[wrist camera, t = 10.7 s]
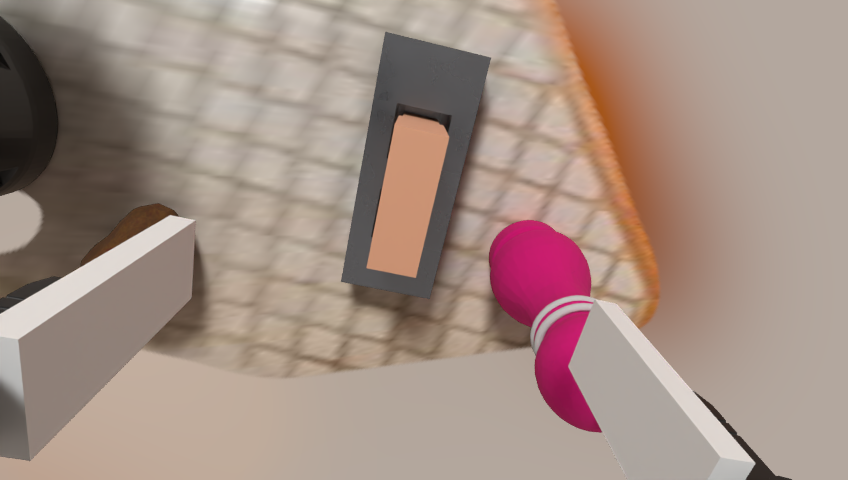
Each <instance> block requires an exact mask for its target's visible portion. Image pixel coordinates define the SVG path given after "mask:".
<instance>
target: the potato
mask: <svg viewBox="0 0 848 480" xmlns="http://www.w3.org/2000/svg"><path fill="white" fill-rule="evenodd" d="M170 215H172V216H177V217H179V216H178V214H177V213H176V212H175V211H174V210H172V209H170V208H168V207H165V206H163V205H161V204H159V203H158V204H152V205H146V206H141V207H138V208H135V209H133V210H132V211H131V212H130V213H129V214H128V215H127V216H126V217H125V218H123V219H122V220H121V221H120V222H119V224H118V225H117V226H116V227H115V229H114V230H113V231H112V232H111V233H110V234H109V236H107V237H106V238H104V239H103V240H102V241H100V242H99V243H97V244H96V245H95V246H94V247H93V248H92V249H91V250H90V252H89V253H88V254H87V255H86V256H85V257H84V259H83V260H82V261H81V265H80V267H82V266H84V265H85V264H87V263H89V262H90V261H92V260H94V259H96V258H97V257H99V256H101V255H103V254H104V253H106V252H108V251H109V250H111V249H113V248H115V247H116V246H118V245H120V244H121V243H123V242H125V241H127V240H128V239H130V238H132V237H134V236H135V235H137V234H139V233H140V232H142V231H144V230H146V229H147V228H149V227H151V226H152V225H154V224H156V223H158V222H159V221H161V220H163V219H165V218H166V217H168V216H170Z"/></svg>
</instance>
